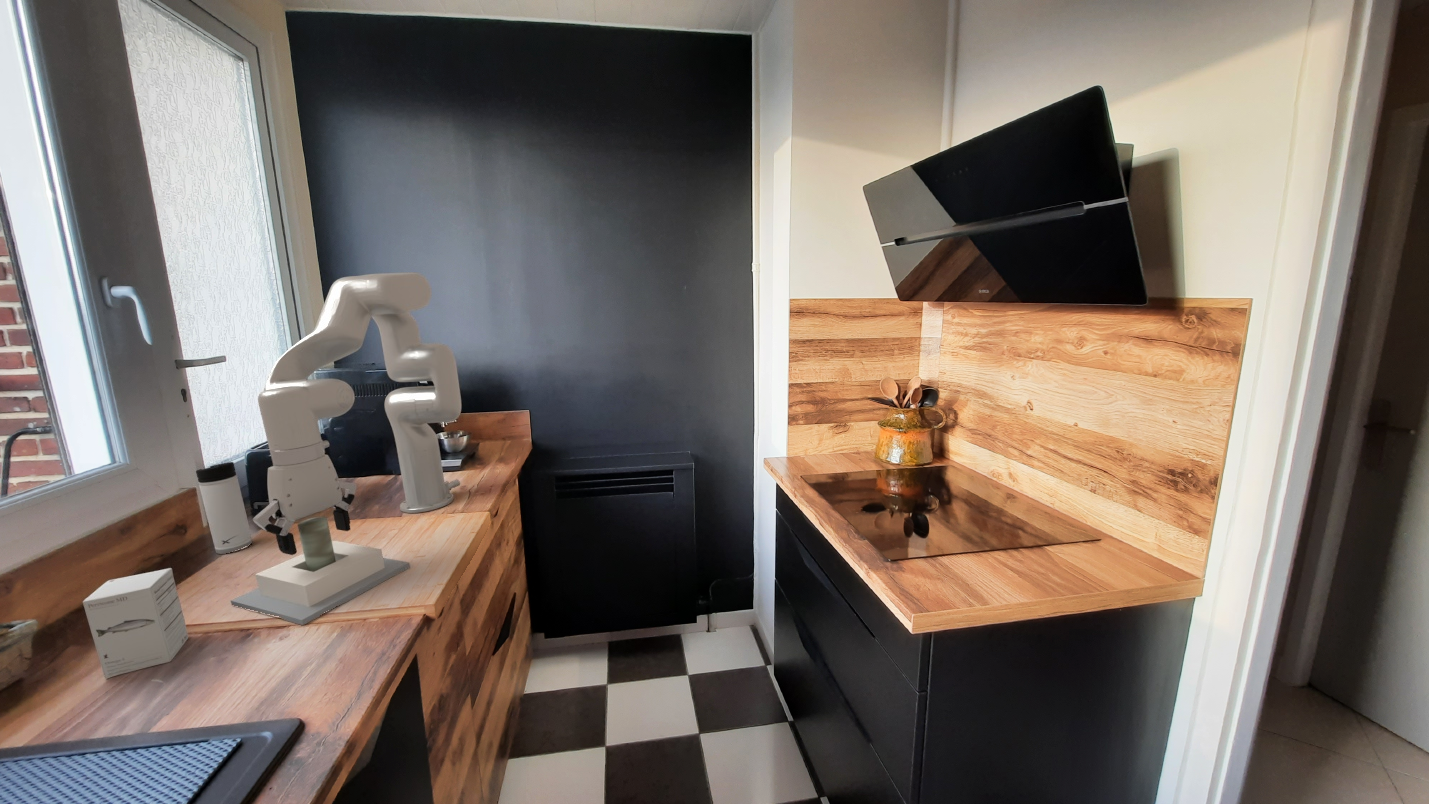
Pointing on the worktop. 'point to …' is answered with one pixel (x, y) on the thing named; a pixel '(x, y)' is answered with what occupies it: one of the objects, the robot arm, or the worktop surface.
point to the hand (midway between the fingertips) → (317, 541)
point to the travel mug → (224, 507)
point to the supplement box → (136, 622)
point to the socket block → (318, 583)
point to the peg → (316, 543)
